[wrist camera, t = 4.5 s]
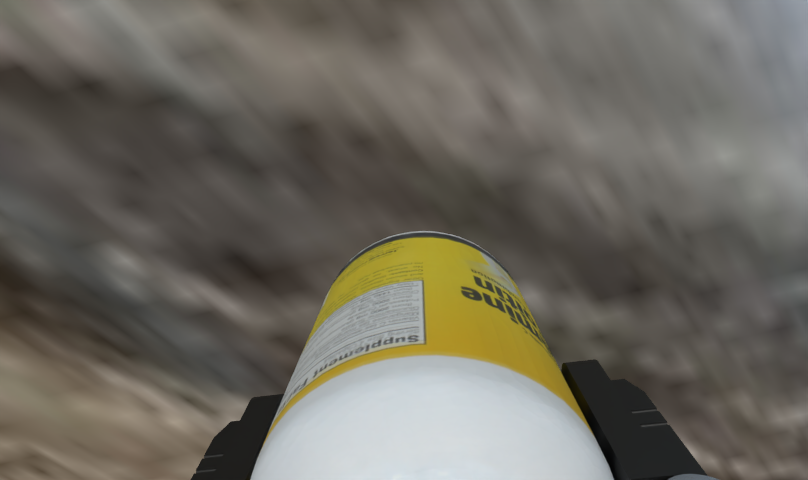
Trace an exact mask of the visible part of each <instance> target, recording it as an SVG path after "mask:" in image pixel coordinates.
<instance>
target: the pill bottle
mask: <svg viewBox="0 0 808 480" xmlns="http://www.w3.org/2000/svg"><path fill="white" fill-rule="evenodd" d="M250 480H614V478H613V475H612V473H611V470H610V467H609V465H608V463H607V461H606V459H605V457H604V455H603V453H602V451H601V449H600V447H599V445H598V442H597V440H596V438H595V436H594V434H593V433H592V431H591V429H590V427H589V425H588V423H587V421H586V419H585V417H584V415H583V413H582V412H581V410H580V408H579V406H578V404H577V402H576V400H575V398H574V396H573V394H572V392H571V390H570V388H569V387H568V385H567V383H566V381H565V379H564V377H563V375H562V373H561V371H560V369H559V367H558V365H557V363H556V361H555V359H554V357H553V355H552V353H551V352H550V350H549V348H548V346H547V344H546V342H545V340H544V338H543V336H542V334H541V332H540V330H539V328H538V326H537V324H536V322H535V320H534V318H533V316H532V314H531V312H530V311H529V309H528V307H527V305H526V303H525V301H524V299H523V297H522V295H521V293H520V291H519V289H518V287H517V285H516V284H515V282H514V280H513V278H512V277H511V276H510V274H509V273H508V271H507V270H506V269H505V268H504V267H503V265H502V264H501V263H500V262H499V261H498V260H496V259H495V258H494V257H493V256H492V255H491V254H489V253H488V252H487V251H485V250H484V249H482V248H481V247H479V246H478V245H476V244H474V243H472V242H470V241H468V240H465V239H463V238H461V237H458V236H455V235H450V234H446V233H440V232H434V231H417V232H408V233H402V234H397V235H394V236H391V237H387V238H385V239H383V240H380V241H378V242H376V243H374V244H372V245H370V246H369V247H367V248H365V249H364V250H362V251H361V252H360V253H358V254H357V255H356V256H355V257H354V258H352V259H351V260H350V261H349V262H348V263H347V264H346V266H345V267H344V268H343V269H342V270H341V271H340V273H339V274H338V276H337V277H336V279H335V280H334V282H333V284H332V286H331V287H330V289H329V291H328V293H327V296H326V298H325V300H324V302H323V305H322V307H321V309H320V312H319V314H318V317H317V319H316V322H315V324H314V327H313V329H312V331H311V334H310V336H309V338H308V341H307V343H306V345H305V348H304V350H303V352H302V354H301V357H300V359H299V361H298V364H297V366H296V368H295V371H294V373H293V375H292V378H291V380H290V382H289V385H288V387H287V389H286V392H285V394H284V396H283V399H282V401H281V403H280V406H279V408H278V410H277V413H276V415H275V417H274V420H273V422H272V425H271V427H270V429H269V432H268V434H267V436H266V439H265V441H264V444H263V446H262V449H261V451H260V453H259V456H258V458H257V461H256V464H255V467H254V470H253V472H252V476H251V479H250Z"/></svg>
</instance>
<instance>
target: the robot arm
mask: <svg viewBox="0 0 808 480" xmlns="http://www.w3.org/2000/svg"><path fill="white" fill-rule="evenodd" d="M562 375H563V377H564V379H565V381H566V383H567V385H568V387H569V388H570V390H571V392H572V394H573V396H574V398H575V400H576V402H577V404H578V406H579V408H580V410H581V412H582V413H583V415H584V417H585V419H586V421H587V423H588V425H589V427H590V429H591V431H592V433H593V434H594V436H595V438H596V440H597V442H598V445H599V447H600V449H601V451H602V453H603V455H604V457H605V459H606V461H607V463H608V465H609V467H610V470H611V473H612V475H613V478H614V480H718V479H715V478H712V477H709V476H707V474H706V473H705V472H704V470H703V469H702V468H701V466H700V465H699V464H698V462H697V461H696V460H695V458H694V457H693V456H692V454H691V453H690V452H689V450H688V449H687V448H686V447H685V445H684V444H683V443H682V441H681V440H680V439H679V437H678V436H677V435H676V433H675V432H674V431H673V429H672V428H671V427H670V425H667V421H666V420H665V419H664V417H663V416H662V415H661V413H660V412H659V411H657V408H656V407H655V405H654V404H653V403H652V401H651V400H650V399H649V397H648V396H647V395H646V393H645V392H644V391H642V390H641V389H639V388H638V387H636V386H634V385H633V384H631V383H630V382H628V381H627V380H625V379H621V380H610V379H609V377H608V376H607V374H606V373H605V371H604V370H603V368H602V367H601V365H600V364H599V362H598V361H597V360H587V361H578V362H569V363H563V364H562ZM283 396H284V394H279V395H270V396H261V397H253V398H252V399H251V400H250V402H249V404H248V406H247V408H246V410H245V412H244V414H243V416H242V418H241V420H240V421H232V422H230V423H229V424H228V425H227V426H226V427H225V428H224V429H223V430H222V431H221V432H220V433H218V434H217V435H216V436H215V437H214V439H213V440H212V442H211V444H210V446H209V448H208V449H207V451H206V453H205V455H204V459H202V460H201V462H200V464H199V466H198V468H197V469H196V474H194V475H193V477H192V478H191V480H250V479H251V476H252V472H253V470H254V467H255V464H256V461H257V458H258V456H259V453H260V451H261V449H262V446H263V444H264V441H265V439H266V436H267V434H268V432H269V429H270V427H271V425H272V422H273V420H274V417H275V415H276V413H277V410H278V408H279V406H280V403H281V401H282V399H283Z"/></svg>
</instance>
